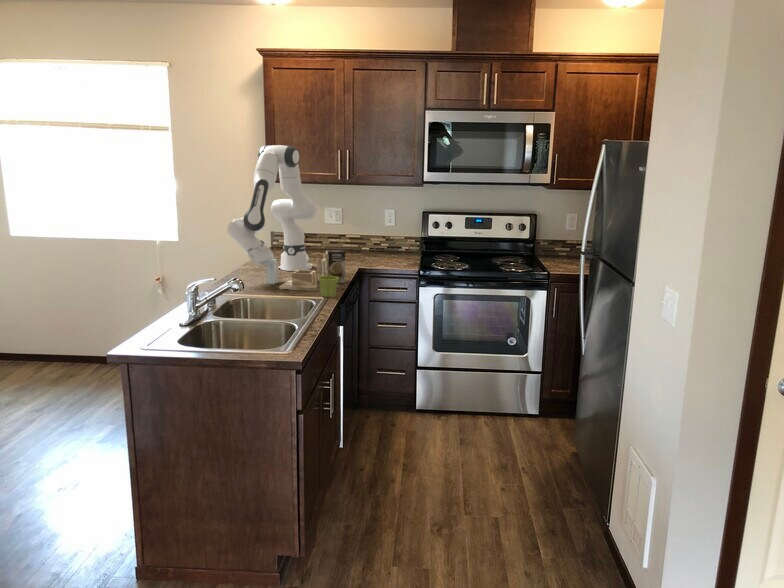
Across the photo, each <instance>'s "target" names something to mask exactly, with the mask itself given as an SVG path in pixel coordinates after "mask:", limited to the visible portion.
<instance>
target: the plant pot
mask: <svg viewBox="0 0 784 588" xmlns="http://www.w3.org/2000/svg"><path fill="white" fill-rule="evenodd" d="M318 279H319V282H320V286H321V291H320V292H321V297H323V298H326V297H327V298H334V297H335V296H336V292H337V285H338V283H337V282H338V279H339V277H337V276H321V277H318Z"/></svg>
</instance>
